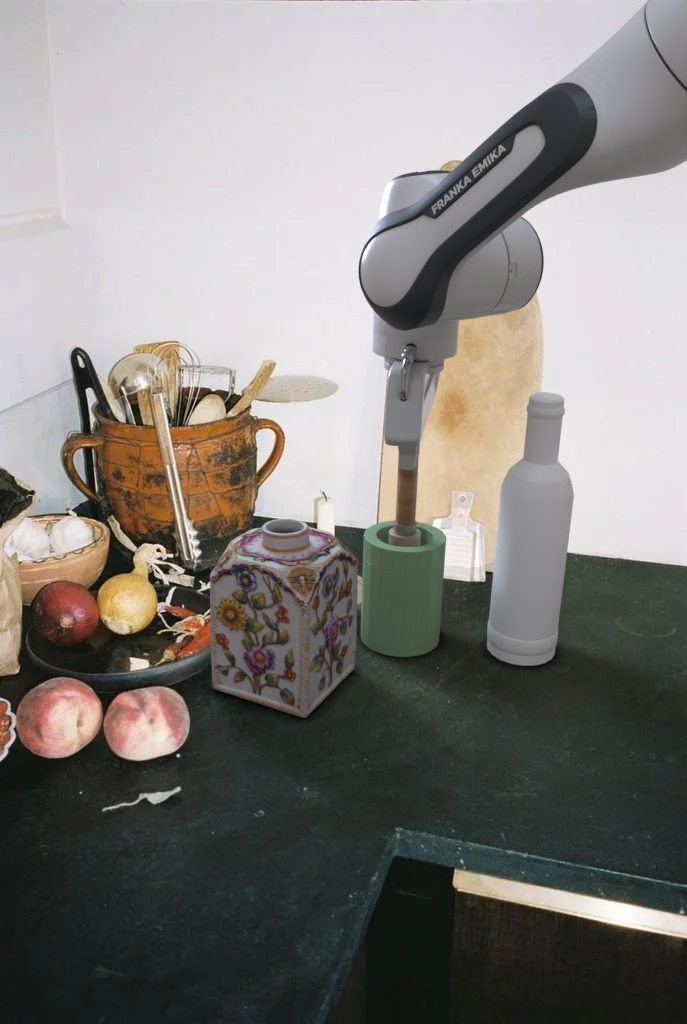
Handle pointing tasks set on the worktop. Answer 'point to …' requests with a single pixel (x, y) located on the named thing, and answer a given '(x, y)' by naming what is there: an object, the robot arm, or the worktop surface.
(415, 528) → the brush
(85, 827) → the worktop surface
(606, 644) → the worktop surface
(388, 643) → the green pen holder
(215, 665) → the decorative jar
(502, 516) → the bottle
